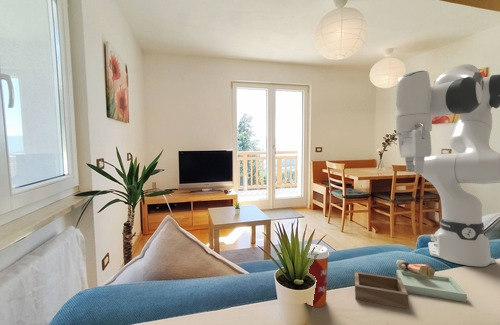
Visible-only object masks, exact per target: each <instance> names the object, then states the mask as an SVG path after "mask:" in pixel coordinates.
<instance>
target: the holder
mask: <svg viewBox="0 0 500 325" xmlns="http://www.w3.org/2000/svg"><path fill="white" fill-rule="evenodd" d="M354 296H355V297H354V298H355V300H359V301H365V302H369V303H375V304H380V305H385V306H391V307H396V308H402V309H407V310H409V293H408V292H407V291H406V289H405V287H404V285H403V282H402V280H401V278H397V276H396V277H395V276H387V275H382V274H381V275H380V274H373V273H367V272H360V271H354Z"/></svg>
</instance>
